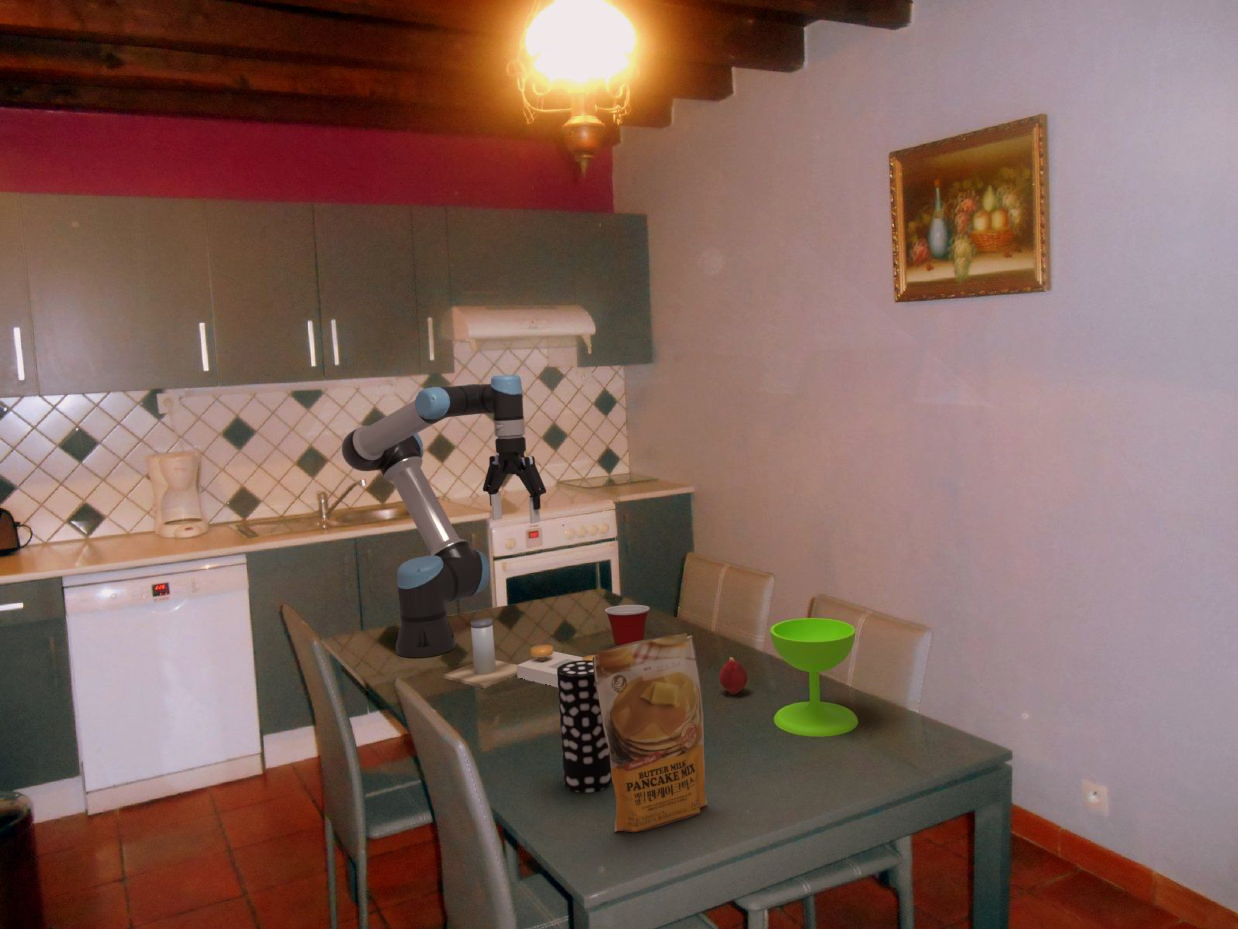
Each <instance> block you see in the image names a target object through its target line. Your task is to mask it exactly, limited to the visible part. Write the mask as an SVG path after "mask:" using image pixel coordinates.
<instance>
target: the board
mask: <svg viewBox="0 0 1238 929" xmlns="http://www.w3.org/2000/svg"><path fill="white" fill-rule="evenodd" d="M495 663H496V671H495V672H493V673H490V674H485V675H479V674H476V673H475V671H474V662H473V663H471V664H468V665H465V666H463V667H460V668H457V669H454V670H452V671H450V672H447V673H444V674H442V678H443V679H445V680H450V681H453V682H456V683H462V684H465V685H468V684H469V686H471V687H472V686H473V687H476V688H481V689H487V688H489V687H491V685H492V686H494V685H497V684H499V683H501V682H504V681H506V680H508V679H507V678H509V679H511V678H513V676H514V677H516V676H517V665H518V664H515V663H510V662H507V661H500V660H497V659H495ZM515 675H516V676H515ZM500 681H501V682H500ZM498 682H499V683H498ZM493 684H494V685H493Z"/></svg>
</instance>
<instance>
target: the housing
mask: <svg viewBox="0 0 1238 929" xmlns="http://www.w3.org/2000/svg"><path fill="white" fill-rule="evenodd" d="M582 658H583V657H582V656H578V655H572V654H567V653H563V652H558V651H554V650H553V654H552V655H550V656H547V661H545V662H543V663H542V662H538V657H534V658H532V659H529V660H527V661H523V662H521V663H519V664H516V665H517V675H516V676H517V679H520V678H523V679H522V680H524V679H525V680H524V681H529V682H533V681H534V682H533V683H538V684H542V685H545V684H547V686H549V685H551V686H550V687H554V688H558V680H557V668H558V667H559V666H561V665H563V664H565V663H568V662H573V661H580V660H582Z"/></svg>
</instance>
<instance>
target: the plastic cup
mask: <svg viewBox="0 0 1238 929" xmlns="http://www.w3.org/2000/svg"><path fill="white" fill-rule="evenodd" d="M604 611H605V613H606V614H607V618H608V620H609V624H610V628H611V633H612V637H613V642H614V645H615V647H616V646H620V645H625V644H628V643H632V642H636V641H641V640H645V632H646V631H645V630H646V623H647V622H646V621H647V616H648V612H649V611H650V606H647V605H643V604H642V605H641V604H621V605H615V606H614V605H613V606H610V607H607V608H605V609H604Z"/></svg>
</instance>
